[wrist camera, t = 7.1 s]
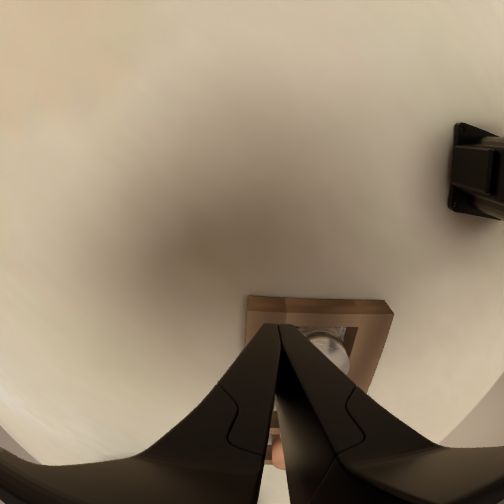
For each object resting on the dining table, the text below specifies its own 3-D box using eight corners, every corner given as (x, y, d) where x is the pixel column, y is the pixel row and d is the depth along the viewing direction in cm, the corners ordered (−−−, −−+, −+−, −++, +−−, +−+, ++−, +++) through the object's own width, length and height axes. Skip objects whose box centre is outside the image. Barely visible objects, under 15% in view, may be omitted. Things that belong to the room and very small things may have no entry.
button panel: (384, 300, 20) (394, 313, 18) (331, 448, 27) (334, 461, 25) (248, 295, 20) (247, 310, 18) (240, 448, 27) (239, 463, 25)
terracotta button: (315, 425, 24) (319, 449, 21) (308, 446, 26) (311, 469, 23) (273, 425, 24) (274, 450, 21) (269, 447, 26) (270, 470, 23)
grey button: (345, 321, 20) (355, 346, 17) (334, 364, 22) (342, 390, 19) (290, 320, 20) (294, 346, 17) (283, 364, 22) (286, 391, 19)
